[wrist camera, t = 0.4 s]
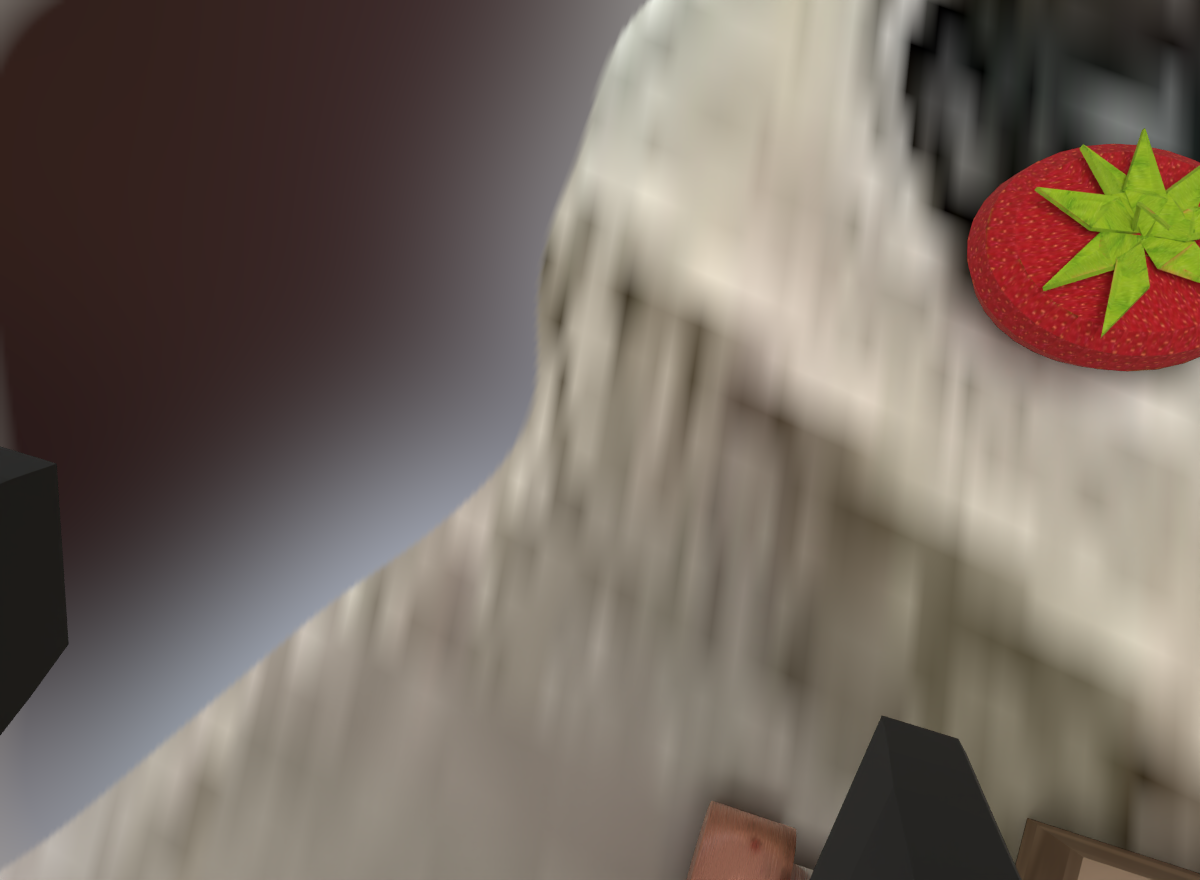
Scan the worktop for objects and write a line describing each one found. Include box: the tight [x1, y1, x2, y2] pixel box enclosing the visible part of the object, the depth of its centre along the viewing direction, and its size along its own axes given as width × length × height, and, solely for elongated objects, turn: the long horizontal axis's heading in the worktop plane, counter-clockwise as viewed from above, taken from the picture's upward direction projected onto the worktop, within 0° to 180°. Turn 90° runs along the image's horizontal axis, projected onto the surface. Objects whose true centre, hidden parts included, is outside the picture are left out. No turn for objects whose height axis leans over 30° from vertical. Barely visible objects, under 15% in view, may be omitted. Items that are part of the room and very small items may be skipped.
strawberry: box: [967, 128, 1200, 371], centre depth 30 cm, size 6×8×10 cm
